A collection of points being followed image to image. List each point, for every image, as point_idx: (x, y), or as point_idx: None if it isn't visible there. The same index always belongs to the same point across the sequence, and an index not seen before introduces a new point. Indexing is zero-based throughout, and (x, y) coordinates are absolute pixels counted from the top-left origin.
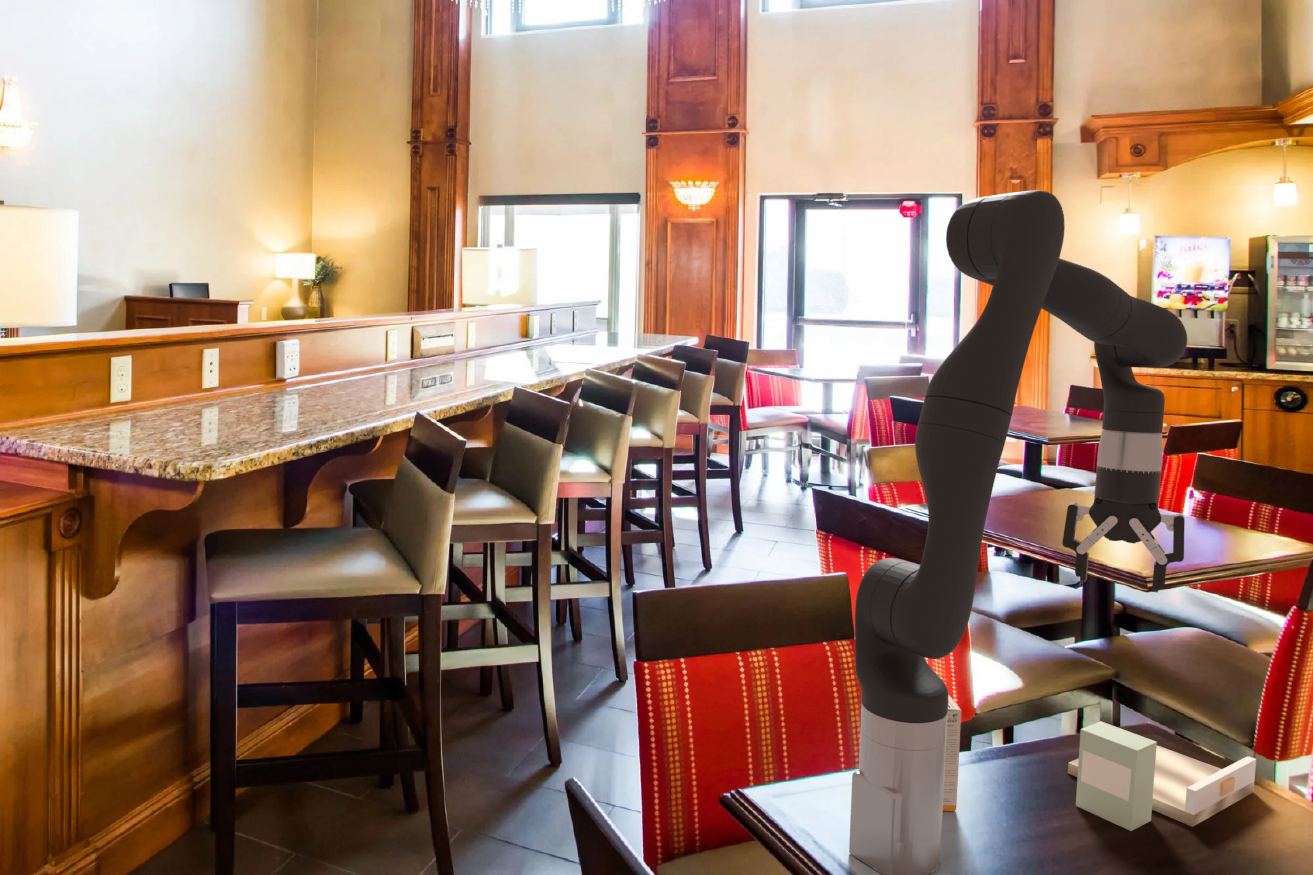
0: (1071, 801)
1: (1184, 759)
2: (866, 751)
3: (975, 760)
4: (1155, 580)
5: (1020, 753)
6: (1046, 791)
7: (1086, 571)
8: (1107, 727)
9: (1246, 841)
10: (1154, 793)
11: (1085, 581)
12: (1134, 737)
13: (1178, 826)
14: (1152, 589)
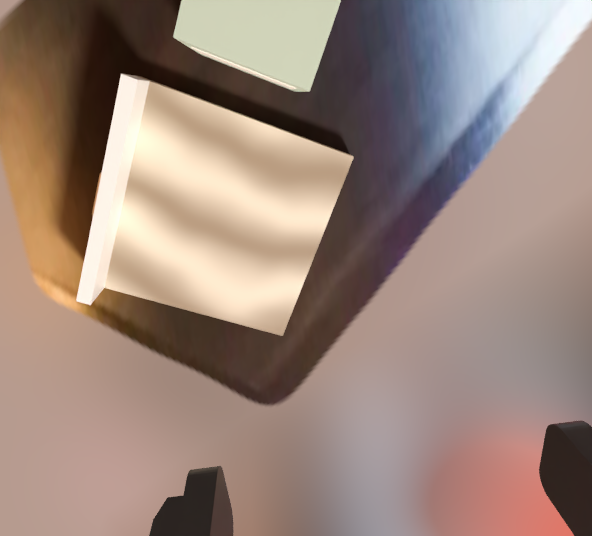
0: None
1: (196, 297)
2: None
3: (497, 99)
4: (196, 524)
5: (430, 182)
6: (369, 50)
7: (585, 483)
8: (289, 57)
9: (61, 80)
10: (206, 123)
11: (550, 425)
12: (222, 30)
13: (159, 62)
14: (215, 470)
